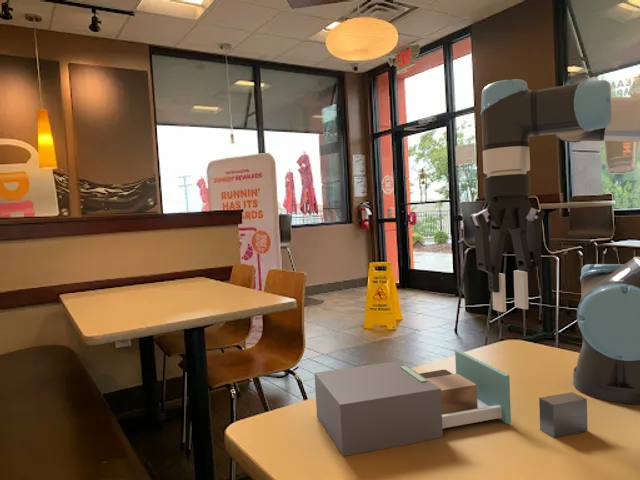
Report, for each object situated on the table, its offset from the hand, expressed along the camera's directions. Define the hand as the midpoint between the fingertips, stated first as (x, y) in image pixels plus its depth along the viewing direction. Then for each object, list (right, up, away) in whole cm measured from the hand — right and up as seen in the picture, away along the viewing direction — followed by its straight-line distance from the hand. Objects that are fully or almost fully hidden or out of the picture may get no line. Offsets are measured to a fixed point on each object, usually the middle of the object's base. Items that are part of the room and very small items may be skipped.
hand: (510, 308), depth 85 cm
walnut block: (-11, -16, -2) cm, 20 cm away
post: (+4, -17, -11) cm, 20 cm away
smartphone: (-13, -17, +13) cm, 25 cm away
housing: (-25, -18, -6) cm, 32 cm away
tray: (-13, -17, -3) cm, 21 cm away
